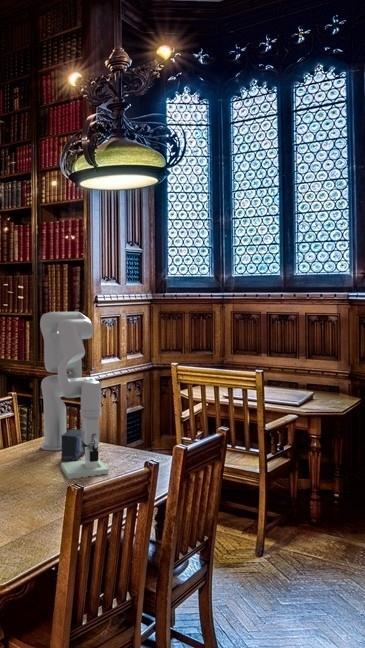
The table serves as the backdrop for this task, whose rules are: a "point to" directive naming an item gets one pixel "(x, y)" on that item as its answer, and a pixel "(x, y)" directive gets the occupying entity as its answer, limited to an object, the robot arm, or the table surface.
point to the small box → (72, 445)
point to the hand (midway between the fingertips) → (90, 457)
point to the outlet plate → (82, 469)
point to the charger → (87, 459)
